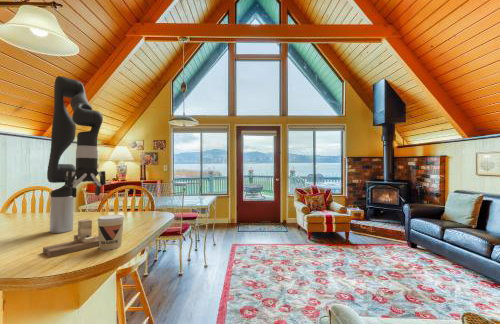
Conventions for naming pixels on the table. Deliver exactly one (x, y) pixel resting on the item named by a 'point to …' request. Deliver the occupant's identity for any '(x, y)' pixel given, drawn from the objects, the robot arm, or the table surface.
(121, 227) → the coffee cup
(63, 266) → the table surface
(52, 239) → the table surface
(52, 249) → the board
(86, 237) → the beige stepped block
